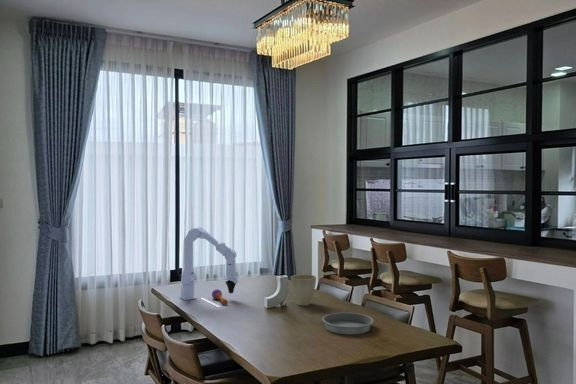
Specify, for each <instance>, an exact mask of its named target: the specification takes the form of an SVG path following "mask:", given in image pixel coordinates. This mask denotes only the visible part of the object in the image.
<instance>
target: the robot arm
mask: <svg viewBox="0 0 576 384" xmlns="http://www.w3.org/2000/svg"><path fill="white" fill-rule="evenodd" d="M197 239H204V240H206V241H207V242H208V243H210V244H212V245H213V246H214V247H215V251H217V252H218V253H219V254H220V255H222V256H223V257H224V259H225V275H224V279H223V280H225V285H226V287H227V290H228V293H229V294H233V293H234V290H235V287H236V285H237V284H238V283H239V281H238V277H237V276H236V275H237V274H236V273H237V272H236V267H237V266H236V265H237V263H236V258H237V252H236V251H235V250H233V249H232V248H231V247H228V246H227V245H226V243H225V242H219V241H218V240H217V239H216V238H215V237H214V236H213V235H211V234H210V232H208V230H206V229H204V228H203V227H202V226H196V227H193V228H191V229H190V230H188V232H187V235H186V236H185V237H184V241H183V242H184V243H183V245H184V246H183V248H184V249H183V250H184V251H183V252H184V253H183V254H184V255H183V257H184V258H183V263H184V265H183V270H182V276H181V277H180V280H181V283H182V284H181V285H180V296H179V298H180V299H182V300H184V301H189V300H194V299H195V300H197V299H198V298H197V296H195V280H196V274H195V269H194V242H195V241H196V240H197Z"/></svg>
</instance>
